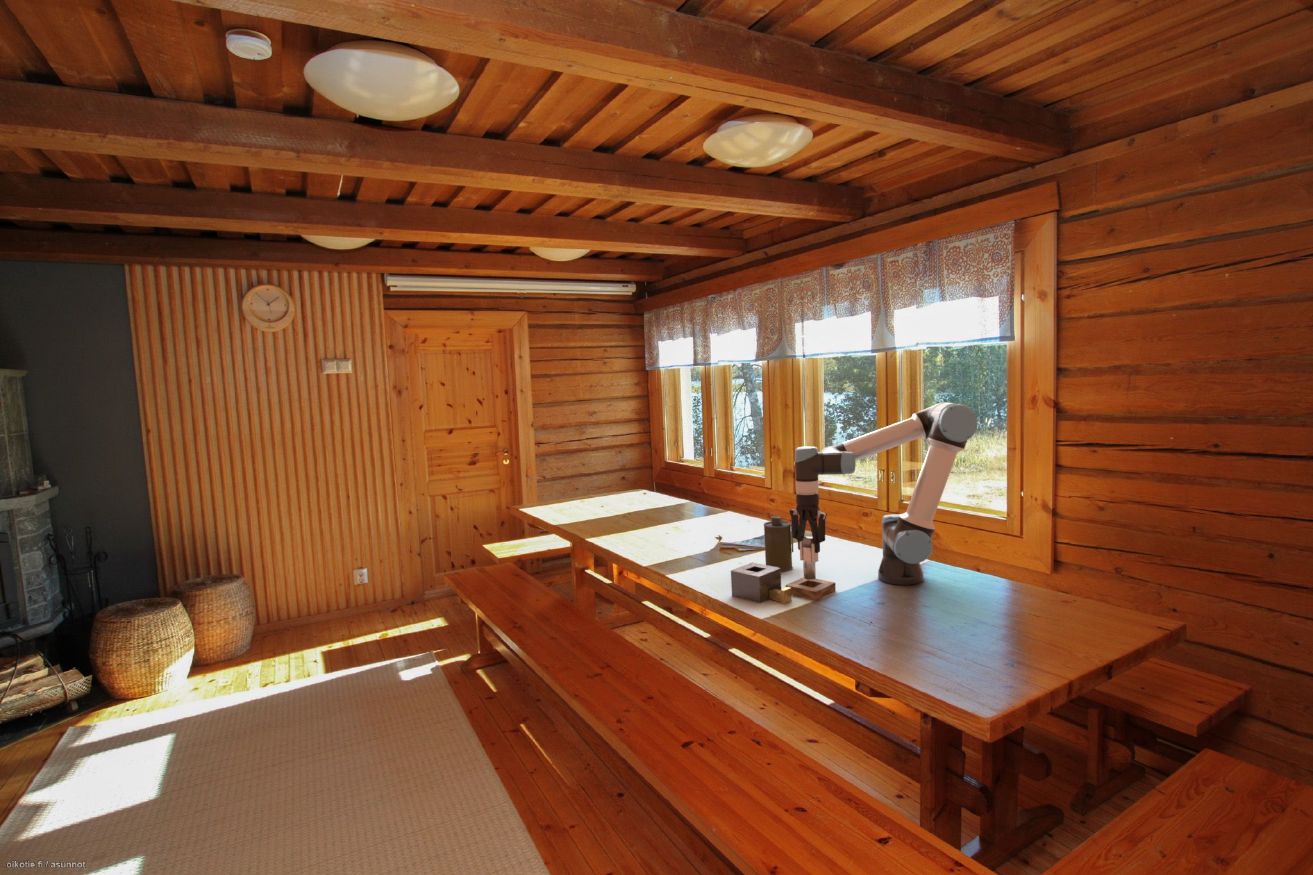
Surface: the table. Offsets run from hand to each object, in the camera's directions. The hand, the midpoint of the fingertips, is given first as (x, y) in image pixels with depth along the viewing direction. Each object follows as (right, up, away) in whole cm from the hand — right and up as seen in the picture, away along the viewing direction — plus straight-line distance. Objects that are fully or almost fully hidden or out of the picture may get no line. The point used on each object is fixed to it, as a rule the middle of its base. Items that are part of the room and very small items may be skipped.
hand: (809, 560), depth 231 cm
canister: (-5, -9, +31) cm, 32 cm away
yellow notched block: (-13, -12, -3) cm, 18 cm away
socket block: (-18, -12, +1) cm, 21 cm away
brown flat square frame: (+1, -11, +1) cm, 11 cm away
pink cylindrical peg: (0, -6, +1) cm, 6 cm away
